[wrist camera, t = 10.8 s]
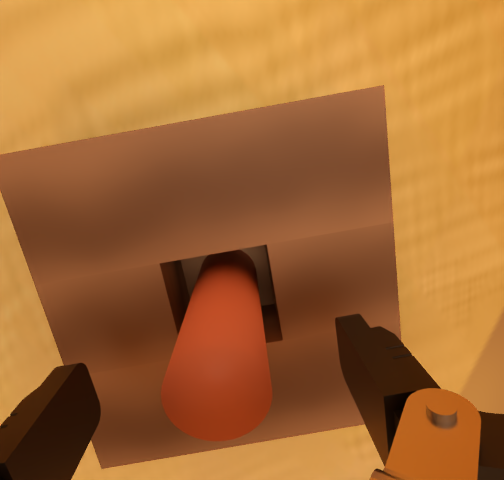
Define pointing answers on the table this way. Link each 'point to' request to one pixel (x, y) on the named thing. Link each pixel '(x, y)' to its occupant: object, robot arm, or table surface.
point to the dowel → (220, 354)
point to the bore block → (211, 242)
